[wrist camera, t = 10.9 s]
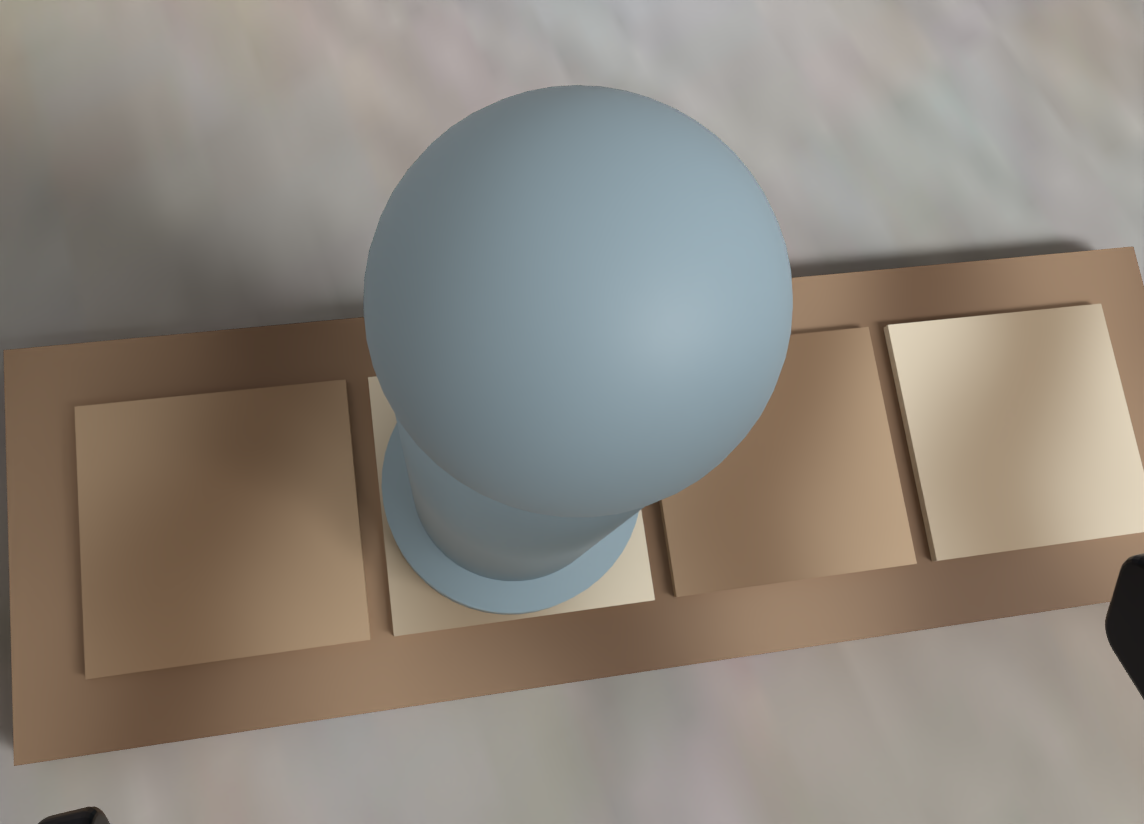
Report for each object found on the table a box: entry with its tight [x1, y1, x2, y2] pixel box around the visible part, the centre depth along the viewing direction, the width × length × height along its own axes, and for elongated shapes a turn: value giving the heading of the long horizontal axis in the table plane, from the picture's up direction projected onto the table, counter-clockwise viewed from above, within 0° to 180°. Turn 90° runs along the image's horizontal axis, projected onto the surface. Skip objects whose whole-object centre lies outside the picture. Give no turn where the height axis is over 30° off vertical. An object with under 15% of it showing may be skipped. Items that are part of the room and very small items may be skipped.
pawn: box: [363, 85, 793, 615], centre depth 13 cm, size 4×4×12 cm
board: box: [3, 247, 1144, 766], centre depth 19 cm, size 22×7×1 cm, turn 98°
